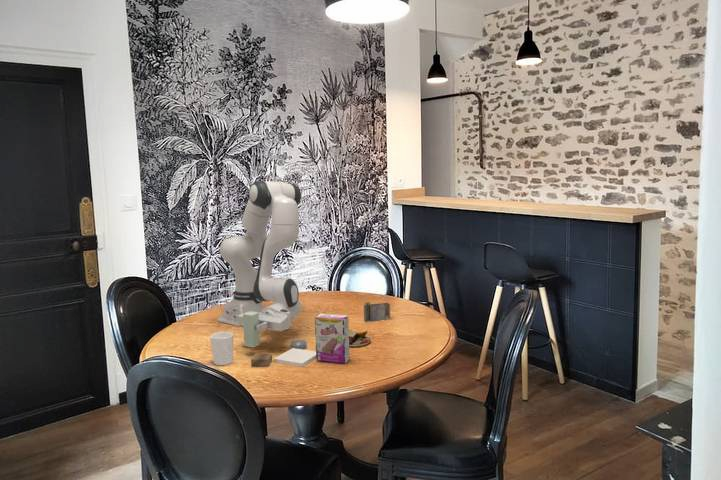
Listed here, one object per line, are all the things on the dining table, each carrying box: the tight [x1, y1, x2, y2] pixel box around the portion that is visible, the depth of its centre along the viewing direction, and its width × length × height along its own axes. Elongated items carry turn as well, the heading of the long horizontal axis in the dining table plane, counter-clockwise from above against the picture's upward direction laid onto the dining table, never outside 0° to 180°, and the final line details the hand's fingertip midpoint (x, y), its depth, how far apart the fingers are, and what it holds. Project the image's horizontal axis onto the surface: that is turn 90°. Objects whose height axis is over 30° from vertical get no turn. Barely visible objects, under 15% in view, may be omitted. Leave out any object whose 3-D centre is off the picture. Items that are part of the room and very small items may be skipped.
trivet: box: [273, 348, 316, 368], centre depth 190 cm, size 12×12×1 cm
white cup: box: [209, 331, 234, 366], centre depth 189 cm, size 8×8×10 cm
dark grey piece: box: [363, 301, 391, 323], centre depth 234 cm, size 11×3×10 cm, turn 103°
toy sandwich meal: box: [349, 329, 372, 348], centre depth 206 cm, size 12×14×5 cm
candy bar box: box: [314, 313, 351, 365], centre depth 186 cm, size 11×5×16 cm, turn 71°
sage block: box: [243, 311, 261, 348], centre depth 194 cm, size 4×4×12 cm
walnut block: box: [250, 352, 273, 368], centre depth 186 cm, size 6×6×3 cm
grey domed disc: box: [290, 339, 308, 350], centre depth 202 cm, size 6×6×2 cm
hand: (249, 327), depth 194 cm, fingers closed on sage block, 4 cm apart
